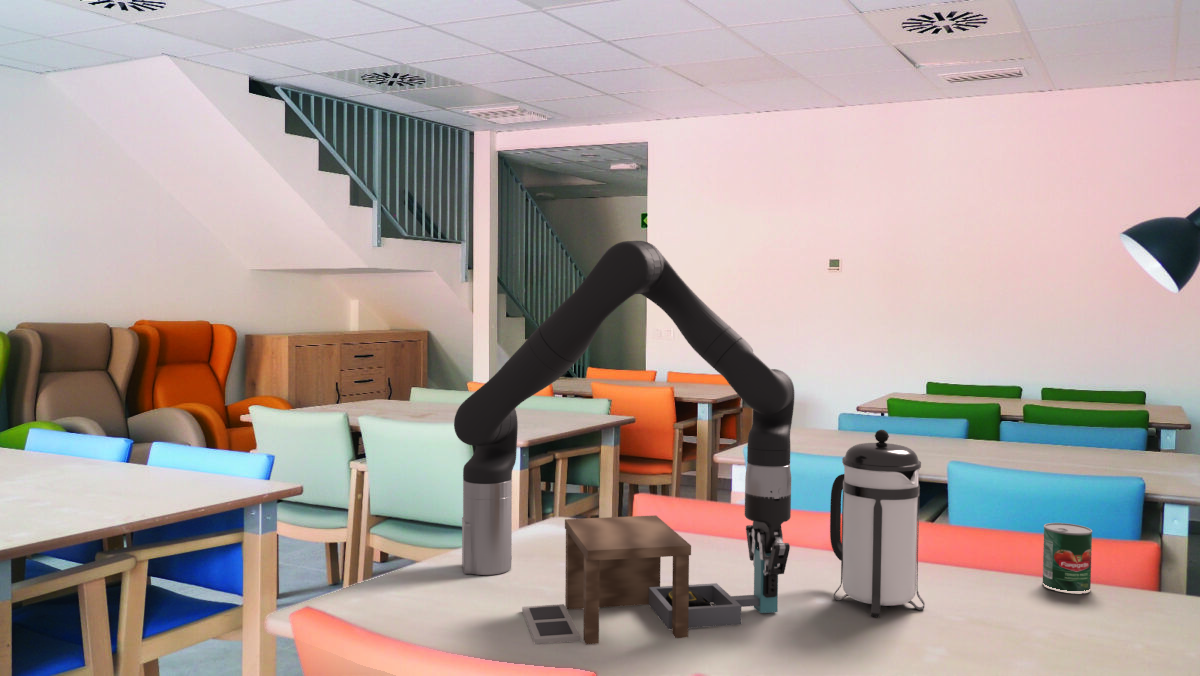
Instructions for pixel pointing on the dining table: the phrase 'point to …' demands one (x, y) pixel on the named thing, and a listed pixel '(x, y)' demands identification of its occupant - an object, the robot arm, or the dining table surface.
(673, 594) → the small wooden table
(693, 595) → the tape measure
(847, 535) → the coffee press
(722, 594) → the slider
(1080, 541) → the canned tomato
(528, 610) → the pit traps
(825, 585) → the dining table surface
